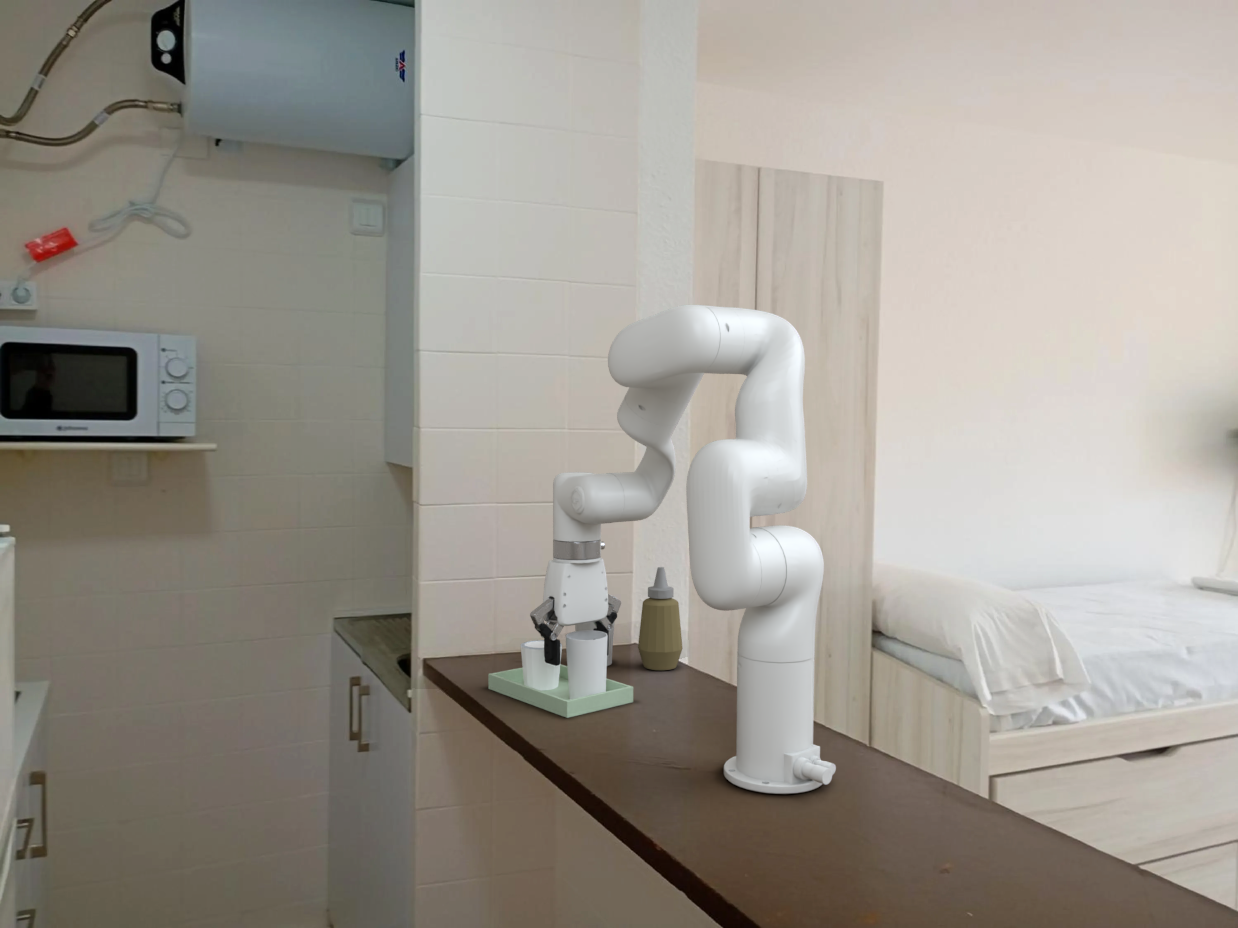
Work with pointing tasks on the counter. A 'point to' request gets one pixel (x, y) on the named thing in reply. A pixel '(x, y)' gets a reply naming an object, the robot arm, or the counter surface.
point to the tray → (559, 693)
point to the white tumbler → (586, 662)
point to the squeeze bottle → (660, 626)
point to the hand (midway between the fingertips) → (577, 658)
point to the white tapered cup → (538, 667)
